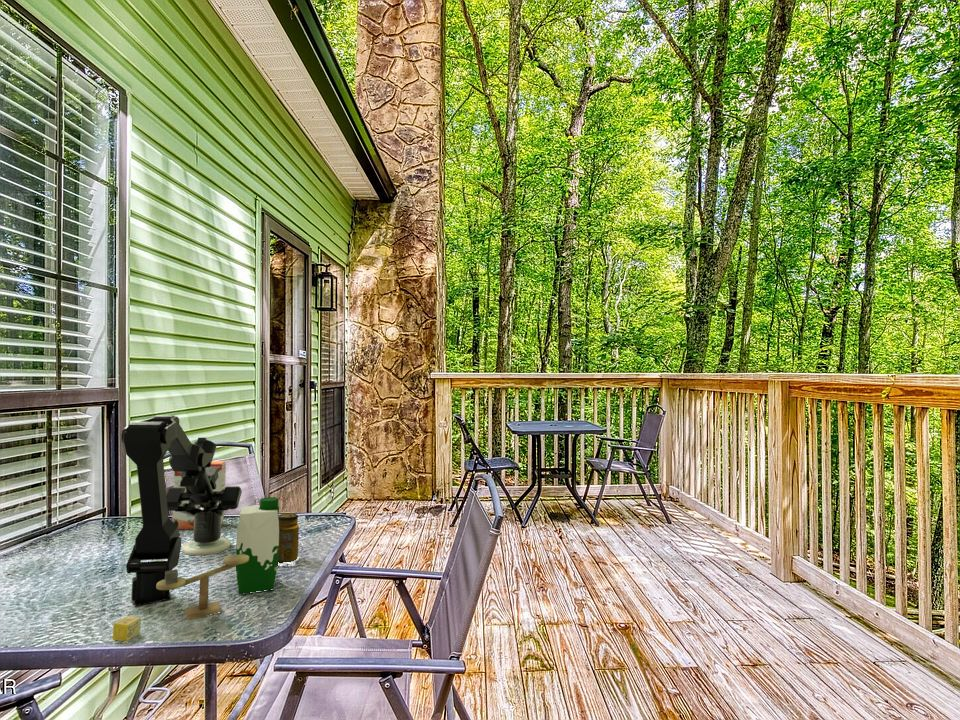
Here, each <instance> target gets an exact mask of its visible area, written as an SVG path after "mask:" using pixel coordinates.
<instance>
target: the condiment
mask: <svg viewBox="0 0 960 720" xmlns="http://www.w3.org/2000/svg"><path fill="white" fill-rule="evenodd" d="M298 518H299V515H298V514H297V513H293V512H287V513H280V514H279V517H278V519H279V551H278V562H279V563H283V562H291V561H294V560H296V559H297V557H298V556H299V534H300V533H299V532H300V531H299V530H300V525H299V524H298V522H299V520H298Z"/></svg>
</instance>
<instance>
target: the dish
mask: <svg viewBox="0 0 960 720" xmlns="http://www.w3.org/2000/svg"><path fill="white" fill-rule="evenodd" d="M230 547H231V539H229V538H225V537H220V539H219V540H217V541H214V542H209V543H197V542H195V541H194V540H191V541H188V542H186V543H184V544H183V545H182V548H181V549H182V551H181V552H182V554H185V555H189V556H206V555H213V554H217V553H221V552H223V551H226V550H228V549H230Z"/></svg>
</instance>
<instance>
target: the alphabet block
mask: <svg viewBox="0 0 960 720" xmlns="http://www.w3.org/2000/svg"><path fill="white" fill-rule="evenodd" d="M141 623H142V621H141V617H137V616H129V615H127V616H125V617H123V618H120V620H117V621H116V622H114V623H113V625H112V626H113V628H112V639H113V640H115V641H123V642H125V641H126V642H127V641H130V640H131V639H132V638H135V637H136V636H137V635H139V634H140V633H141V625H142V624H141Z"/></svg>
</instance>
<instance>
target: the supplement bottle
mask: <svg viewBox="0 0 960 720" xmlns="http://www.w3.org/2000/svg"><path fill="white" fill-rule="evenodd" d="M217 503H218V500H211V501H210V503H209V505H200V506H199V507H197V508H196V509H195V513H194V529H193V540H192V541H195V542H197V543H209V542H214V541H217V540H219V539H220V538H221V537H222V536H221V535H222V525H221V515H220V514H219V513H218V511H217V508H218V505H217Z"/></svg>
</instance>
